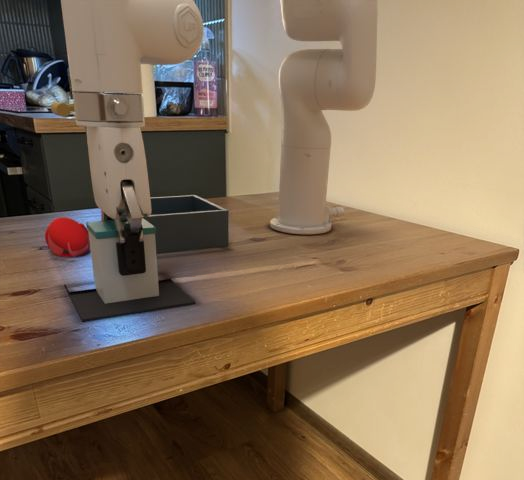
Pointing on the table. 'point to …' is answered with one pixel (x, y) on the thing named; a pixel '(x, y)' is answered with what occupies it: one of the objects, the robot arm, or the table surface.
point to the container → (106, 264)
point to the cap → (67, 237)
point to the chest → (187, 223)
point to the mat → (128, 302)
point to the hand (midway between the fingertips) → (124, 264)
